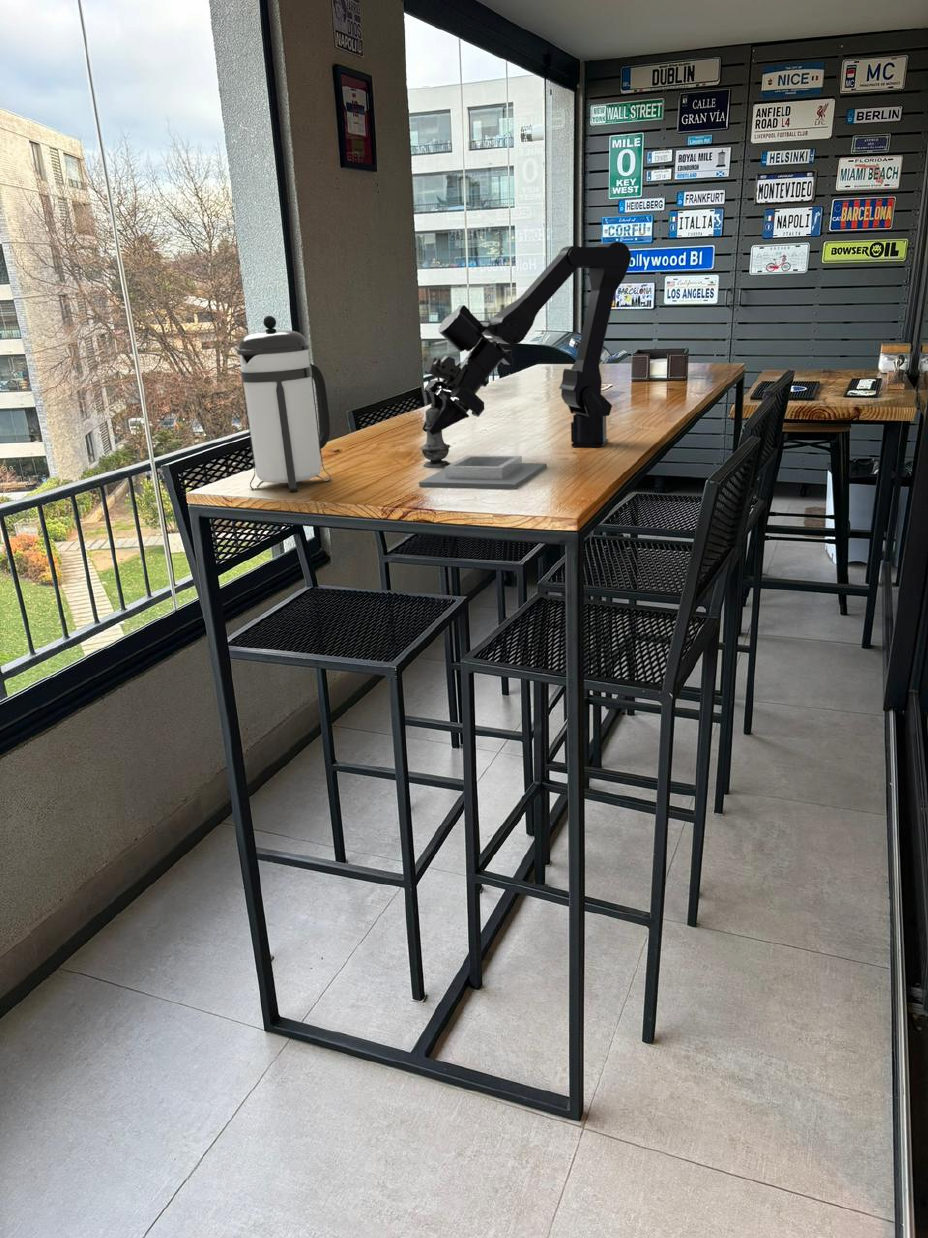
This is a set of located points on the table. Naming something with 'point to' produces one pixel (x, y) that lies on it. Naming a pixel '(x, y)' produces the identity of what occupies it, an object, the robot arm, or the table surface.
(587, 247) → the robot arm
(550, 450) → the table surface
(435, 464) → the salt shaker
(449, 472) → the socket collar
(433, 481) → the socket board
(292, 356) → the coffee press
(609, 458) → the table surface
